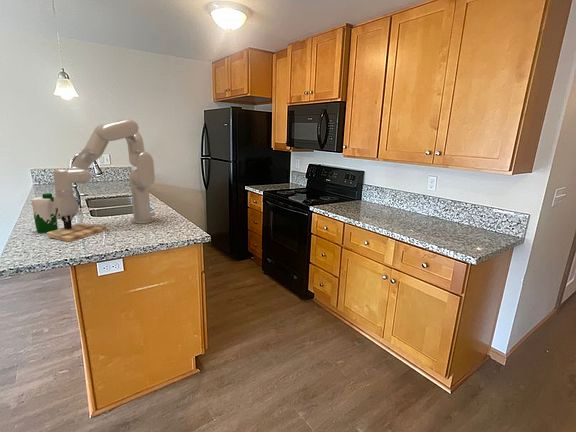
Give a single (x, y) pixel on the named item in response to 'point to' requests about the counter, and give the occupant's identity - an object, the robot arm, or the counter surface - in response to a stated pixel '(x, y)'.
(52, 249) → the counter surface
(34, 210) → the milk carton
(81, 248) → the counter surface
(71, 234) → the laid floor row
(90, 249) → the counter surface
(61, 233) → the tan wooden board
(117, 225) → the counter surface
